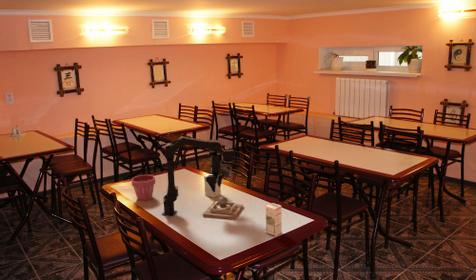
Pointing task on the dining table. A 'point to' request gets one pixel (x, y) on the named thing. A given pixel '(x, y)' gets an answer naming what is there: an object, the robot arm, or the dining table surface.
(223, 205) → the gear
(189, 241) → the dining table surface
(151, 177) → the plant pot
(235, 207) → the board
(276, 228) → the syrup box
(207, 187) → the supplement box
